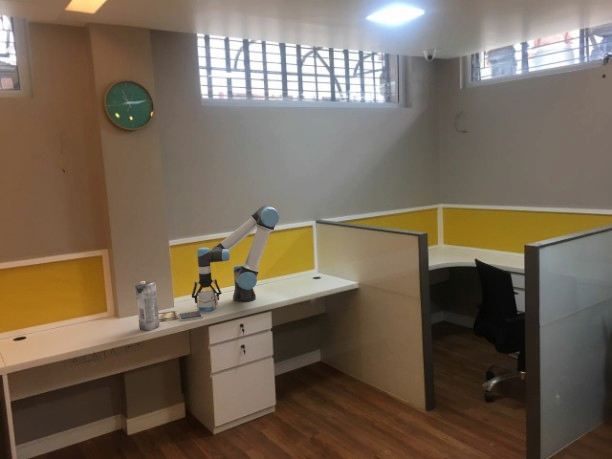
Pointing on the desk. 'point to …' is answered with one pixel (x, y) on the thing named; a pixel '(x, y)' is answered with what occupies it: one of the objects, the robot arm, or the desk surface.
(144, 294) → the juice carton
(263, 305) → the desk surface
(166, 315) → the print board
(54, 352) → the desk surface
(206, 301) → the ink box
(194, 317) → the ink pad
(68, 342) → the desk surface
